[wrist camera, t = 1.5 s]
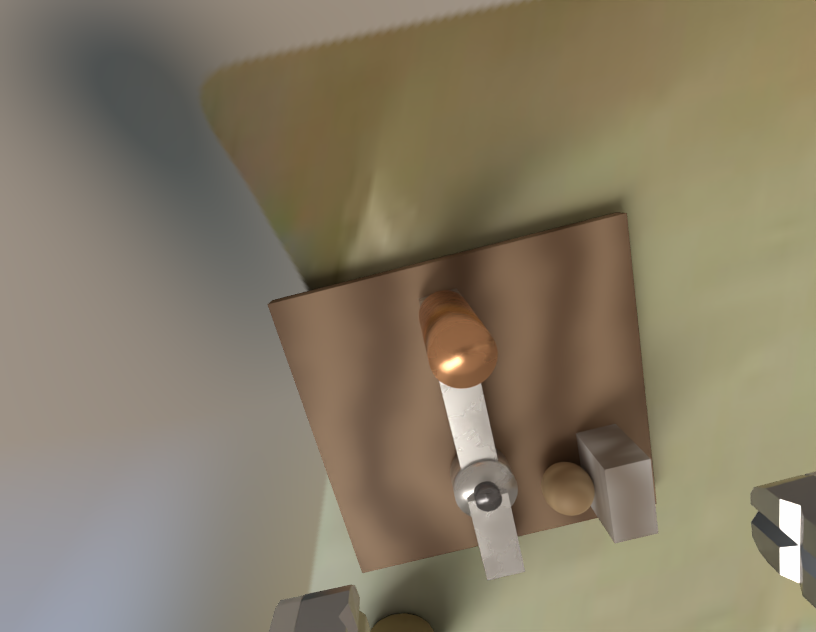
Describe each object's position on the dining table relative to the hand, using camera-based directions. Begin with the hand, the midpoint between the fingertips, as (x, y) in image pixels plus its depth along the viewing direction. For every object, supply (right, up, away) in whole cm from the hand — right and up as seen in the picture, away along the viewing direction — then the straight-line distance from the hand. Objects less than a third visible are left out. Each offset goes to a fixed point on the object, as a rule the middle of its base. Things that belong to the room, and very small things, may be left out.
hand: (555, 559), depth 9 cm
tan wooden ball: (+8, -7, +24) cm, 26 cm away
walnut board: (+2, -2, +23) cm, 24 cm away
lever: (+1, -3, +22) cm, 22 cm away
